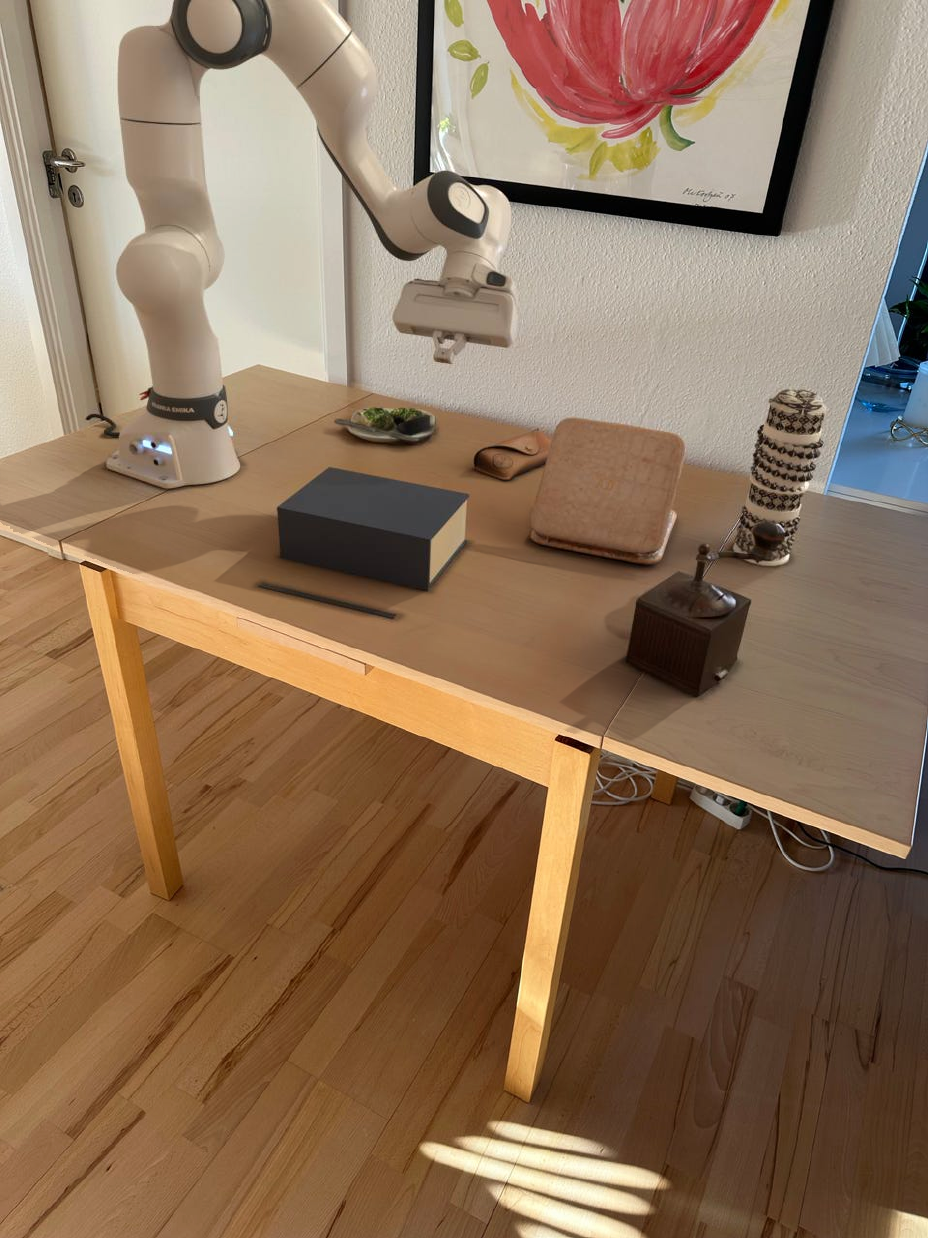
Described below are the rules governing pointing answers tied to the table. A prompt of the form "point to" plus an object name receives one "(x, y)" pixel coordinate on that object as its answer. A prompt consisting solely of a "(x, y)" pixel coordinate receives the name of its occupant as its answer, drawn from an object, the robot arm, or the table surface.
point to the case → (608, 490)
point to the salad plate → (391, 425)
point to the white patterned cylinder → (782, 468)
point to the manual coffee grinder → (695, 621)
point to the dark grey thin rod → (328, 600)
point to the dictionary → (373, 527)
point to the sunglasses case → (513, 455)
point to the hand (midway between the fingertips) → (442, 361)
